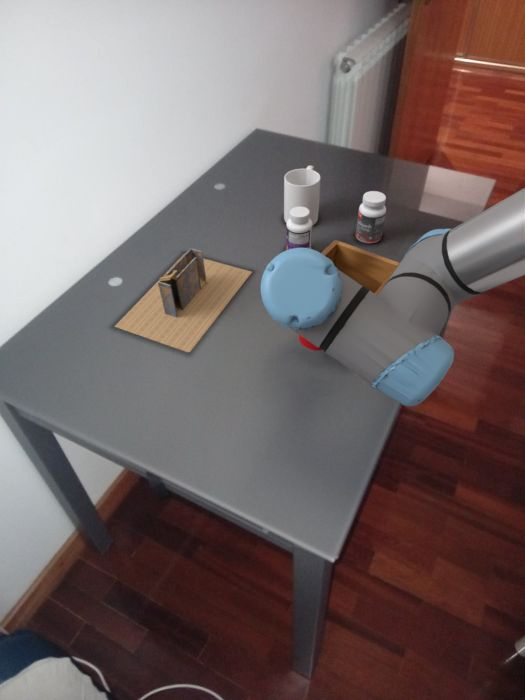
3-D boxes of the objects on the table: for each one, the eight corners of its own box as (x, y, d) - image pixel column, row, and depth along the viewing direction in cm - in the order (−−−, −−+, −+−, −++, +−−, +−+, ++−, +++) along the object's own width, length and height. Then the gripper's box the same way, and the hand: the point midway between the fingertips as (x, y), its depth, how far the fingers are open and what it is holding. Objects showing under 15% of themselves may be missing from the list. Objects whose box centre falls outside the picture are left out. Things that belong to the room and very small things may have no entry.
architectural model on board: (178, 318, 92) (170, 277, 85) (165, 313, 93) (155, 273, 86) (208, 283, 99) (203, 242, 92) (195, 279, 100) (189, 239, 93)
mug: (312, 231, 111) (315, 188, 103) (279, 225, 113) (279, 183, 105) (326, 204, 119) (329, 162, 111) (294, 199, 121) (295, 158, 113)
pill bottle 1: (292, 241, 108) (292, 202, 101) (314, 247, 107) (317, 207, 100) (282, 255, 105) (282, 215, 98) (305, 261, 103) (307, 221, 96)
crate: (395, 307, 93) (405, 264, 85) (366, 345, 86) (373, 302, 79) (331, 281, 99) (335, 239, 91) (298, 315, 92) (300, 272, 85)
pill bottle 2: (350, 236, 109) (354, 195, 102) (367, 227, 112) (373, 186, 104) (369, 247, 106) (375, 206, 99) (386, 237, 108) (394, 196, 101)
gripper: (229, 319, 61) (262, 324, 84) (386, 341, 58) (376, 340, 80) (237, 259, 61) (268, 281, 83) (396, 277, 57) (382, 294, 80)
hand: (321, 310), depth 82 cm, fingers closed on beverage can, 6 cm apart
